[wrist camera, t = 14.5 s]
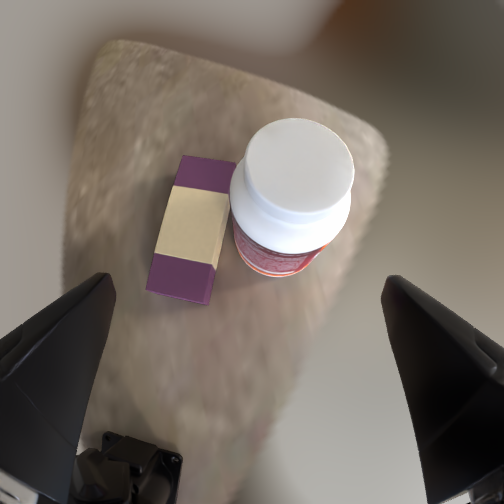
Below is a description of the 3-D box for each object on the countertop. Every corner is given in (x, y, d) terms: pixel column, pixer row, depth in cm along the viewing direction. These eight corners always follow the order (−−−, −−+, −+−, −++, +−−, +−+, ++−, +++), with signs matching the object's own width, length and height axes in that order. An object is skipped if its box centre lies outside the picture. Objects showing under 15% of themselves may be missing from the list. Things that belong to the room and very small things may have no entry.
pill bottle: (316, 281, 22) (375, 243, 11) (230, 274, 22) (215, 227, 11) (318, 201, 24) (365, 116, 13) (239, 194, 24) (234, 99, 13)
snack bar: (208, 305, 22) (203, 303, 19) (155, 293, 22) (144, 289, 19) (237, 178, 24) (236, 162, 21) (188, 170, 24) (182, 154, 22)
